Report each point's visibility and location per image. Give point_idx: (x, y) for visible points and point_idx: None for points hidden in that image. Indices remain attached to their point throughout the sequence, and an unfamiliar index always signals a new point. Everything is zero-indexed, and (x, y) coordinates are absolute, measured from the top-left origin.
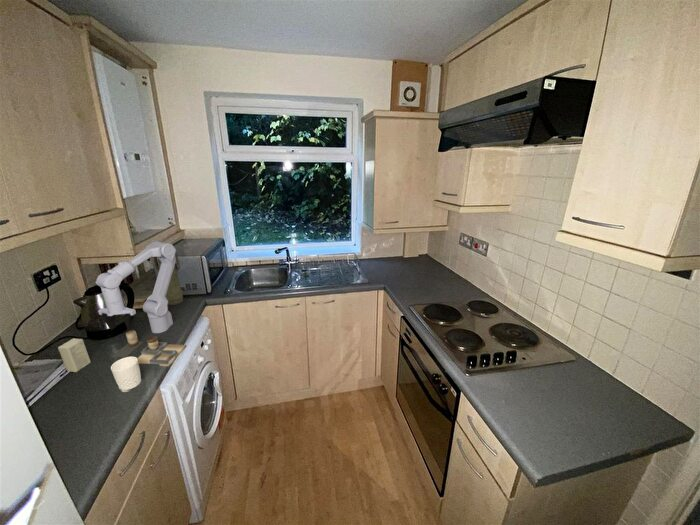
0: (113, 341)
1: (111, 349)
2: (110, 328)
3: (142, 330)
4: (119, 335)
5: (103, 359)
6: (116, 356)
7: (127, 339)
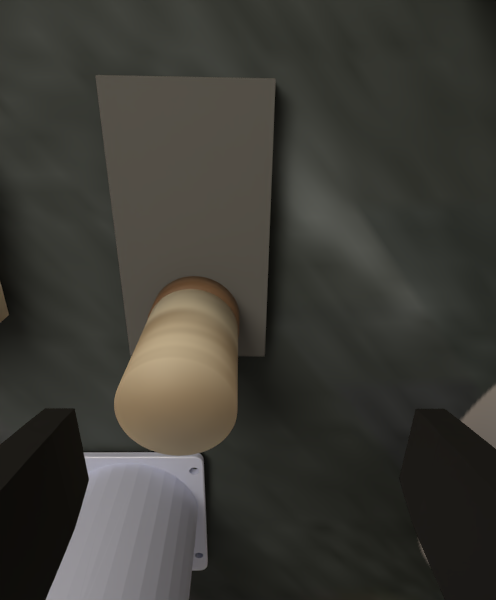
0: (447, 360)
1: (390, 244)
2: (457, 425)
3: (293, 497)
4: None
5: (364, 61)
6: (216, 84)
7: (213, 323)
